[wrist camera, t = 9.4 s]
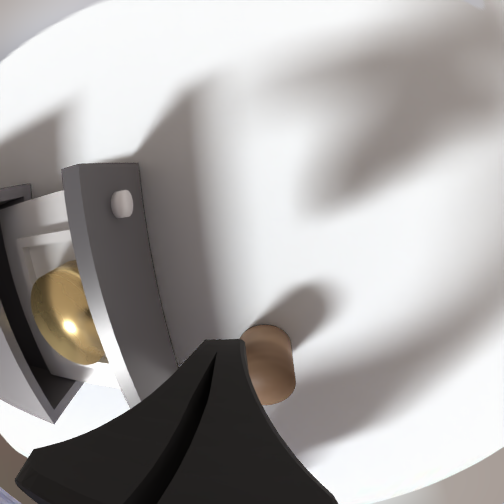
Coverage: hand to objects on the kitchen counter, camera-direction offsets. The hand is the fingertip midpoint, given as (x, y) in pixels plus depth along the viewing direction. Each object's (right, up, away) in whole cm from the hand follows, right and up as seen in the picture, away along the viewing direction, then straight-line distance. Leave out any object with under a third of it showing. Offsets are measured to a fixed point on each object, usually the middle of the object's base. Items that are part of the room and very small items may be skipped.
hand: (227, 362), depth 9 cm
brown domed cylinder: (+2, -2, +7) cm, 8 cm away
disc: (-9, +1, +5) cm, 11 cm away
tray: (-10, +1, +7) cm, 12 cm away
